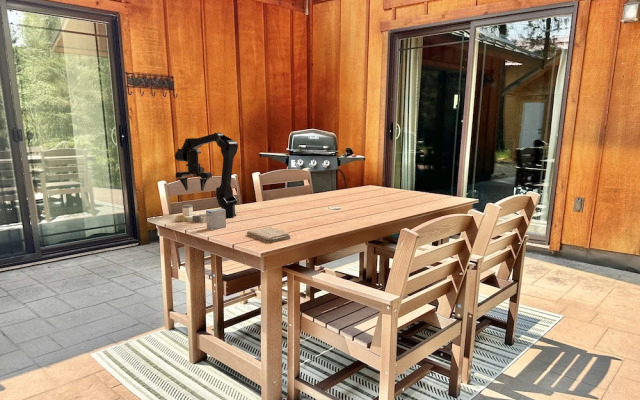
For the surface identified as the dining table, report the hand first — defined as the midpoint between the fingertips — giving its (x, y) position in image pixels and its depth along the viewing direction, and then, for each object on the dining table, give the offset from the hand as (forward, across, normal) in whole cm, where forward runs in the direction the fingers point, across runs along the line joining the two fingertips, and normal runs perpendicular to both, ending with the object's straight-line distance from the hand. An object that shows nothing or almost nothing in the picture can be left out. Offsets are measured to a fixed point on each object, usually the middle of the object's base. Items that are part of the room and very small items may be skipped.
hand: (194, 190), depth 226 cm
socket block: (+12, -8, +15) cm, 21 cm away
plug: (+12, -4, +15) cm, 20 cm away
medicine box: (+12, -27, +30) cm, 42 cm away
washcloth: (+13, -56, +40) cm, 70 cm away
